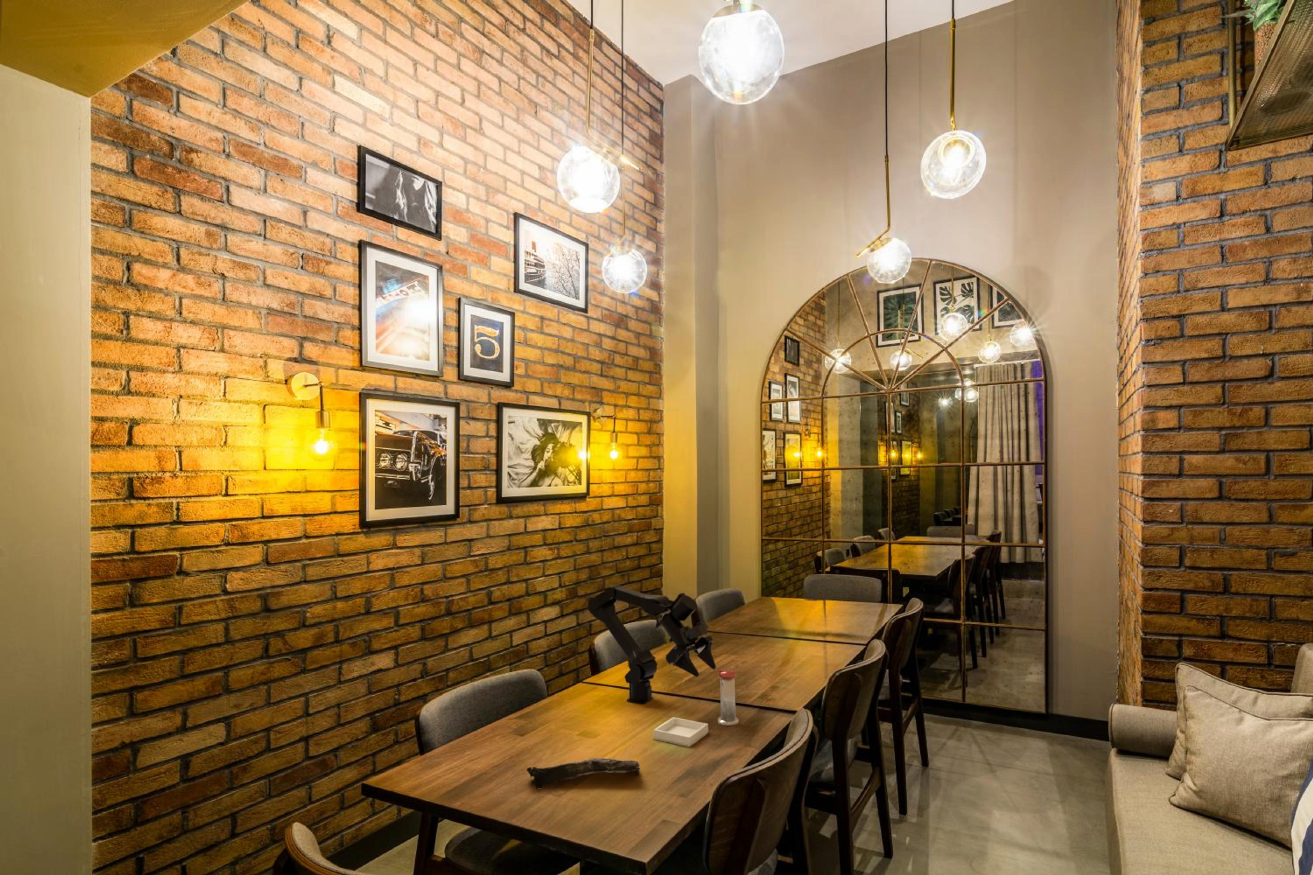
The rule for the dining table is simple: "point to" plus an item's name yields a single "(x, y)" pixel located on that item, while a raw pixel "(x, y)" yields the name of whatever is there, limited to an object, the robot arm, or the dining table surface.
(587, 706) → the dining table surface
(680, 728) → the tray
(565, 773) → the tree bark piece
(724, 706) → the stop pin
